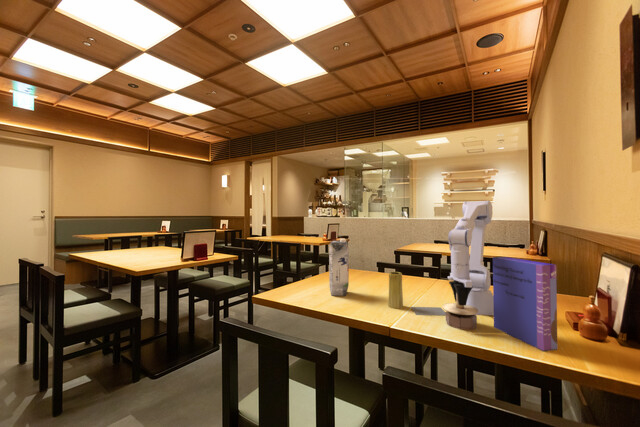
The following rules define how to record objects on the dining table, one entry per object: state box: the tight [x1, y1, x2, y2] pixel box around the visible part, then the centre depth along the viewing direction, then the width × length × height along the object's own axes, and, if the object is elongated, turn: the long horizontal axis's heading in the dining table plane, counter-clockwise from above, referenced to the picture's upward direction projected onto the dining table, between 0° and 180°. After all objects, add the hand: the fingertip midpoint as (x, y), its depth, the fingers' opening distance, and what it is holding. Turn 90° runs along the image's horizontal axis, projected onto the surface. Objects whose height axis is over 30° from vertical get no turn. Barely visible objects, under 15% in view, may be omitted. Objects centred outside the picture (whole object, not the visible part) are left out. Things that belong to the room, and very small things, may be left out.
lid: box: [442, 293, 478, 315], centre depth 100 cm, size 11×11×6 cm
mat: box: [410, 306, 446, 317], centre depth 115 cm, size 12×10×1 cm
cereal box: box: [492, 256, 559, 352], centre depth 90 cm, size 17×5×24 cm, turn 12°
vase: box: [387, 271, 404, 310], centre depth 121 cm, size 6×6×14 cm
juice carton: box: [328, 238, 350, 297], centre depth 143 cm, size 9×10×27 cm
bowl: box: [445, 310, 478, 331], centre depth 100 cm, size 9×9×4 cm
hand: (460, 303), depth 100 cm, fingers closed on lid, 2 cm apart
